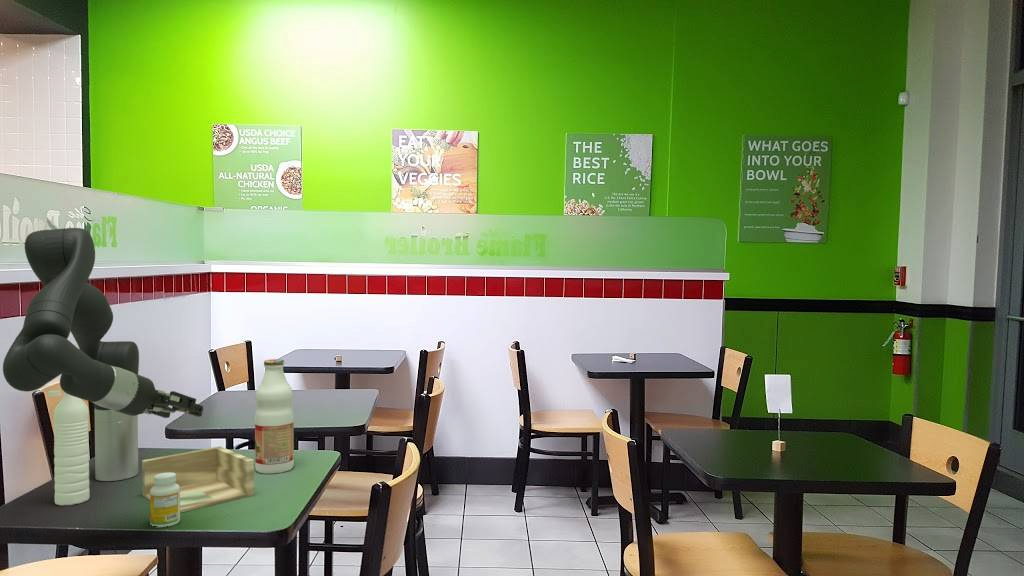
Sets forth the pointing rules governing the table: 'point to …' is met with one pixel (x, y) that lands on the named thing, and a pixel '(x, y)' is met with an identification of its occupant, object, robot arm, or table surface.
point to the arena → (203, 476)
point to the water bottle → (71, 450)
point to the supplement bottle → (165, 500)
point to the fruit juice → (274, 421)
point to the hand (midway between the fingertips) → (185, 412)
